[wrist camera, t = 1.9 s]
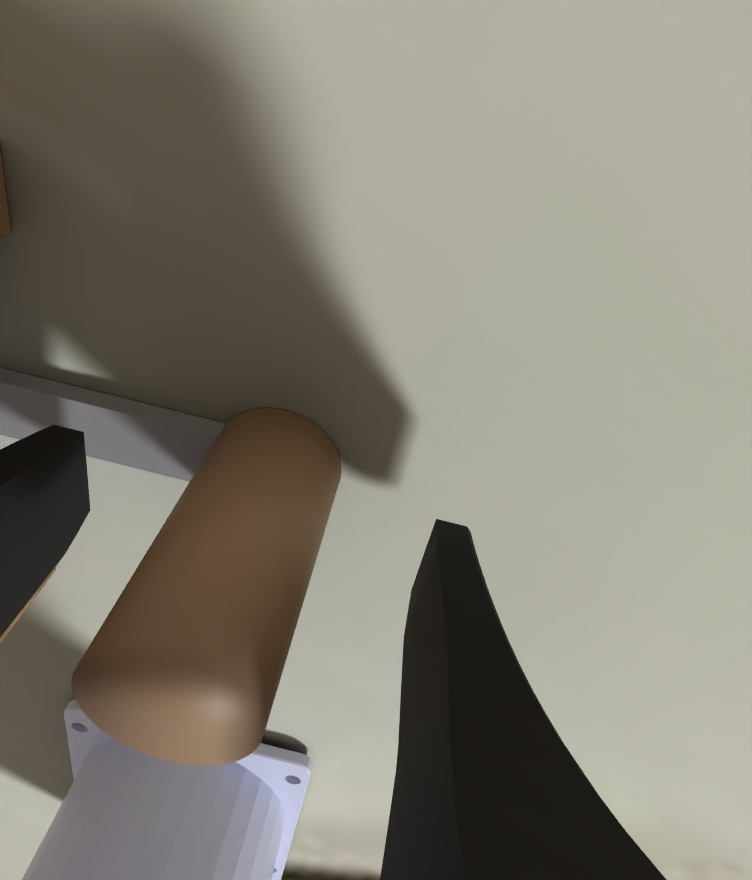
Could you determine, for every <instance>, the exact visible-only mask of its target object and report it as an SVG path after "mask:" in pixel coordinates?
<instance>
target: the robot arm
mask: <svg viewBox="0 0 752 880" xmlns="http://www.w3.org/2000/svg"><path fill="white" fill-rule="evenodd" d="M89 511H90V502H89V489H88V477H87V464H86V452H85V439H84V432H82V431H78V430H74V429H70V428H66V427H62V426H58V425H51V426H49V427H47V428H44V429H42V430H40V431H38V432H36V433H33V434H31V435H29V436H27V437H25V438H23V439H21V440H19V441H17V442H15V443H13V444H11V445H9V446H7V447H5V448H3V449H1V450H0V638H1V636H2V635H3V634H4V632H5V631H6V630H7V629H8V627H9V626H10V625H11V623H12V622H13V621H14V620H15V618H16V617H17V616H18V614H19V613H20V612H21V611H22V609H23V608H24V607H25V605H26V604H27V603H28V602H29V600H30V599H31V598H32V596H33V595H34V594H35V593H36V591H37V590H38V589H39V587H40V586H41V585H42V584H43V582H44V581H45V580H46V578H47V577H48V576H49V574H50V573H51V572H52V570H53V569H54V568H55V566H56V565H57V564H58V563H59V561H60V560H61V558H62V557H63V556H64V554H65V553H66V551H67V550H68V548H69V546H70V545H71V543H72V541H73V540H74V538H75V536H76V535H77V533H78V531H79V529H80V527H81V526H82V524H83V522H84V520H85V518H86V517H87V515H88V513H89ZM64 720H65V726H66V733H67V740H68V746H69V753H70V760H71V766H72V773H73V779H74V781H73V783H72V785H71V787H70V789H69V791H68V793H67V795H66V797H65V799H64V801H63V802H62V804H61V806H60V808H59V810H58V812H57V814H56V816H55V818H54V820H53V822H52V823H51V825H50V827H49V829H48V831H47V833H46V835H45V837H44V839H43V841H42V842H41V844H40V846H39V848H38V850H37V852H36V854H35V856H34V858H33V860H32V862H31V863H30V865H29V867H28V869H27V871H26V873H25V875H24V877H23V879H22V880H281V877H282V873H283V870H284V866H285V863H286V859H287V856H288V852H289V849H290V845H291V842H292V838H293V834H294V831H295V827H296V824H297V820H298V817H299V813H300V810H301V806H302V803H303V799H304V796H305V792H306V788H307V785H308V781H309V778H310V774H311V770H312V761H311V760H310V758H309V757H308V756H306V755H305V754H302V753H299V752H295V751H291V750H287V749H283V748H279V747H274V746H270V745H266V744H262V743H260V744H259V746H258V747H257V749H256V750H255V751H254V752H253V753H251V754H250V755H248V756H247V757H245V758H243V759H241V760H238V761H235V762H232V763H227V764H222V765H213V766H197V765H186V764H179V763H174V762H170V761H165V760H162V759H158V758H155V757H152V756H149V755H146V754H144V753H141V752H139V751H136V750H134V749H132V748H130V747H128V746H126V745H124V744H122V743H120V742H119V741H117V740H115V739H114V738H112V737H111V736H109V735H108V734H106V733H105V732H103V731H102V730H101V729H100V728H99V727H97V726H96V725H95V724H94V723H93V722H92V721H91V720H90V719H89V718H88V717H87V716H86V715H85V713H84V712H83V711H82V710H81V708H80V706H79V705H78V703H77V701H76V699H75V700H72V701H70V702H69V704H68V705H67V707H66V709H65V710H64ZM380 880H666V879H665V878H664V876H663V875H662V874H661V873H660V872H659V870H658V869H657V868H656V867H655V866H654V864H653V863H652V862H651V861H650V860H649V858H648V857H647V856H646V855H645V854H644V852H643V851H642V850H641V849H640V848H639V847H638V845H637V844H636V843H635V842H634V841H633V839H632V838H631V837H630V836H629V835H628V833H627V832H626V831H625V830H624V828H623V827H622V826H621V824H620V823H619V822H618V820H617V819H616V818H615V816H614V815H613V814H612V812H611V811H610V810H609V808H608V807H607V806H606V804H605V803H604V802H603V800H602V799H601V798H600V796H599V795H598V794H597V792H596V791H595V789H594V788H593V786H592V785H591V783H590V782H589V780H588V779H587V777H586V776H585V774H584V773H583V771H582V770H581V768H580V767H579V765H578V764H577V763H576V761H575V760H574V758H573V757H572V755H571V754H570V752H569V751H568V749H567V748H566V746H565V745H564V743H563V742H562V740H561V738H560V737H559V735H558V733H557V732H556V730H555V728H554V727H553V725H552V723H551V722H550V720H549V718H548V717H547V715H546V713H545V712H544V710H543V708H542V706H541V704H540V703H539V701H538V699H537V697H536V695H535V694H534V692H533V690H532V688H531V686H530V684H529V682H528V680H527V678H526V676H525V674H524V672H523V670H522V668H521V666H520V664H519V662H518V660H517V658H516V656H515V654H514V651H513V649H512V647H511V645H510V643H509V641H508V638H507V636H506V634H505V631H504V629H503V627H502V624H501V622H500V619H499V617H498V614H497V612H496V609H495V606H494V604H493V601H492V599H491V596H490V593H489V591H488V588H487V585H486V582H485V579H484V576H483V573H482V570H481V567H480V564H479V561H478V558H477V554H476V551H475V547H474V544H473V540H472V536H471V532H470V531H469V529H468V527H467V526H462V525H458V524H454V523H450V522H446V521H442V520H438V519H436V521H435V524H434V527H433V530H432V533H431V536H430V539H429V541H428V544H427V547H426V550H425V553H424V556H423V559H422V561H421V564H420V567H419V570H418V573H417V576H416V579H415V582H414V584H413V587H412V591H411V597H410V603H409V609H408V615H407V621H406V627H405V634H404V645H403V664H402V683H401V704H400V724H399V744H398V756H397V767H396V775H395V782H394V789H393V796H392V803H391V810H390V817H389V824H388V831H387V838H386V844H385V851H384V857H383V864H382V871H381V877H380Z"/></svg>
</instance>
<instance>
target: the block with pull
mask: <svg viewBox="0 0 752 880" xmlns="http://www.w3.org/2000/svg"><path fill="white" fill-rule="evenodd" d="M51 425H58V426H62V427H66V428H70V429H74V430H78V431H82V432H84V439H85V452H86V456H89V457H93V458H97V459H101V460H105V461H109V462H113V463H117V464H121V465H125V466H130V467H134V468H138V469H142V470H146V471H150V472H154V473H158V474H162V475H166V476H170V477H174V478H178V479H182V480H186V481H190V483H189V484H188V486H187V487H186V489H185V491H184V492H183V494H182V496H181V497H180V499H179V500H178V502H177V504H176V505H175V507H174V509H173V510H172V512H171V514H170V515H169V517H168V518H167V520H166V522H165V523H164V525H163V527H162V528H161V530H160V532H159V533H158V535H157V536H156V538H155V540H154V541H153V543H152V545H151V546H150V548H149V549H148V551H147V553H146V554H145V556H144V558H143V559H142V561H141V563H140V564H139V566H138V567H137V569H136V571H135V572H134V574H133V576H132V577H131V579H130V580H129V582H128V584H127V585H126V587H125V589H124V590H123V592H122V594H121V595H120V597H119V598H118V600H117V602H116V603H115V605H114V607H113V608H112V610H111V612H110V613H109V615H108V616H107V618H106V620H105V621H104V623H103V625H102V626H101V628H100V629H99V631H98V633H97V634H96V636H95V638H94V639H93V641H92V643H91V644H90V646H89V647H88V649H87V651H86V652H85V654H84V656H83V657H82V659H81V661H80V662H79V664H78V665H77V667H76V669H75V671H74V673H73V677H72V690H73V694H74V697H75V699H76V701H77V703H78V705H79V706H80V708H81V710H82V711H83V712H84V713H85V715H86V716H87V717H88V718H89V719H90V720H91V721H92V722H93V723H94V724H95V725H96V726H97V727H99V728H100V729H101V730H102V731H103V732H105V733H106V734H108V735H109V736H111V737H112V738H114V739H115V740H117V741H119V742H120V743H122V744H124V745H126V746H128V747H130V748H132V749H134V750H136V751H139V752H141V753H144V754H146V755H149V756H152V757H155V758H158V759H162V760H165V761H170V762H174V763H179V764H186V765H197V766H213V765H222V764H227V763H232V762H235V761H238V760H241V759H243V758H245V757H247V756H248V755H250V754H251V753H253V752H254V751H255V750H256V749H257V747H258V746H259V744H260V743H261V741H262V738H263V735H264V731H265V728H266V725H267V721H268V718H269V715H270V711H271V708H272V705H273V701H274V698H275V695H276V691H277V688H278V685H279V681H280V678H281V675H282V671H283V668H284V665H285V661H286V658H287V655H288V651H289V648H290V645H291V641H292V638H293V635H294V631H295V628H296V625H297V621H298V618H299V615H300V611H301V608H302V605H303V601H304V598H305V595H306V591H307V588H308V585H309V581H310V578H311V575H312V571H313V568H314V565H315V561H316V558H317V555H318V551H319V548H320V545H321V541H322V538H323V535H324V531H325V528H326V525H327V521H328V518H329V515H330V511H331V508H332V505H333V501H334V498H335V495H336V491H337V488H338V485H339V481H340V478H341V462H340V457H339V454H338V452H337V449H336V448H335V446H334V444H333V442H332V441H331V439H330V438H329V437H328V436H327V435H326V433H325V432H324V431H323V430H322V429H320V428H319V427H318V426H317V425H316V424H314V423H313V422H311V421H310V420H308V419H306V418H305V417H303V416H300V415H298V414H296V413H293V412H290V411H287V410H282V409H276V408H259V409H252V410H249V411H246V412H243V413H241V414H239V415H237V416H235V417H234V418H232V419H231V420H230V421H229V422H228V423H227V424H226V423H222V422H218V421H214V420H210V419H206V418H202V417H198V416H194V415H190V414H186V413H182V412H178V411H174V410H170V409H166V408H162V407H158V406H154V405H150V404H146V403H142V402H137V401H133V400H129V399H125V398H121V397H117V396H113V395H109V394H105V393H101V392H97V391H93V390H89V389H85V388H81V387H77V386H73V385H69V384H65V383H61V382H57V381H53V380H49V379H45V378H41V377H37V376H33V375H29V374H25V373H21V372H16V371H12V370H8V369H4V368H0V435H4V436H8V437H12V438H16V439H23V438H25V437H27V436H29V435H31V434H33V433H36V432H38V431H40V430H42V429H44V428H47V427H49V426H51Z"/></svg>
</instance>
